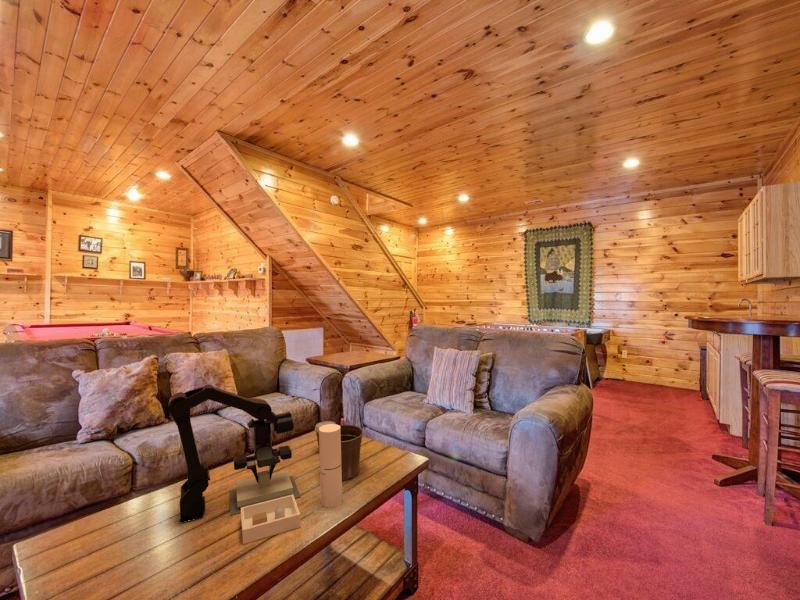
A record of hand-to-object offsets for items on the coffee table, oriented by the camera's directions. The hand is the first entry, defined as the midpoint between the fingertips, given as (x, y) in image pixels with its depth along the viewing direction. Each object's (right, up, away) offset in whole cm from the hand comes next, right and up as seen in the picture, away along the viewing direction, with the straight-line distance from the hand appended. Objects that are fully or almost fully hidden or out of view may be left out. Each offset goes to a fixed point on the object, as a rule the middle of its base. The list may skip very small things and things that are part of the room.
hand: (263, 480), depth 128 cm
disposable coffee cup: (+15, -4, +33) cm, 37 cm away
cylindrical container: (+25, -5, -5) cm, 25 cm away
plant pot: (+26, -4, +14) cm, 30 cm away
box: (+8, -5, -16) cm, 19 cm away
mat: (0, -5, 0) cm, 5 cm away
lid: (0, -3, 0) cm, 3 cm away
